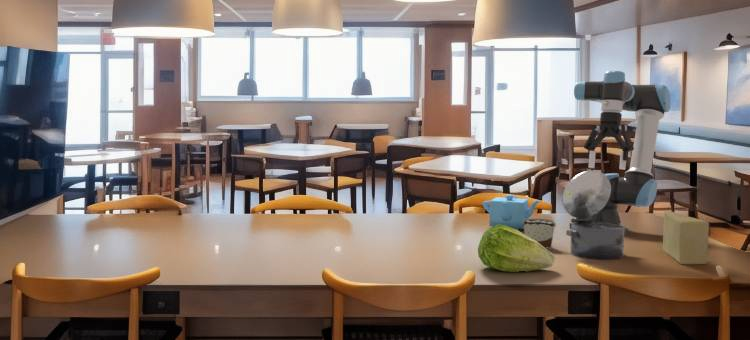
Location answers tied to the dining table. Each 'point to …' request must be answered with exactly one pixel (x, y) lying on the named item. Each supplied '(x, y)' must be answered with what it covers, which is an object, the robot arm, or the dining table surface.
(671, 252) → the cheese
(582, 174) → the lid
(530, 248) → the lettuce
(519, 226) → the teakettle
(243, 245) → the dining table surface
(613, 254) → the stockpot
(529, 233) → the food container
